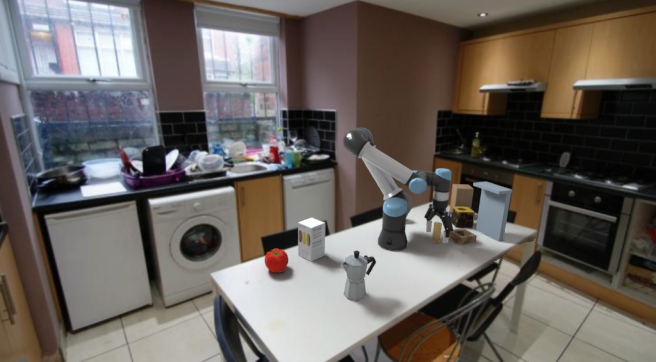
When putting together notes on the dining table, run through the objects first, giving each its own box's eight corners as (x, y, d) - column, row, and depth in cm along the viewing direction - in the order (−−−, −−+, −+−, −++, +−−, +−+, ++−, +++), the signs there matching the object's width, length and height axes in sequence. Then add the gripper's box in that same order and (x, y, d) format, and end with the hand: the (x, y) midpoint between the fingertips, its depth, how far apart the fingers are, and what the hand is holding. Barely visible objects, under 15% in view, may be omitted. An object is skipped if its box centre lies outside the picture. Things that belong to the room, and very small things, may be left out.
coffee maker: (345, 304, 116) (346, 260, 111) (335, 291, 123) (336, 249, 119) (380, 295, 122) (382, 252, 117) (368, 283, 129) (370, 242, 125)
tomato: (270, 279, 131) (269, 260, 129) (261, 267, 140) (260, 249, 138) (293, 272, 137) (293, 253, 135) (283, 261, 146) (282, 243, 144)
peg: (435, 243, 166) (437, 225, 163) (430, 240, 169) (432, 222, 167) (441, 242, 167) (443, 224, 164) (436, 239, 171) (438, 221, 168)
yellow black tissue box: (473, 228, 185) (475, 212, 183) (456, 228, 185) (458, 212, 183) (466, 221, 195) (468, 206, 193) (449, 221, 195) (451, 206, 193)
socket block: (460, 245, 164) (461, 238, 163) (447, 237, 173) (448, 230, 172) (475, 242, 167) (476, 235, 166) (462, 234, 176) (463, 228, 175)
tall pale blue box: (490, 243, 166) (499, 191, 159) (466, 230, 181) (473, 182, 174) (503, 241, 169) (512, 189, 162) (479, 228, 184) (486, 181, 177)
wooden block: (464, 213, 208) (468, 184, 203) (469, 219, 199) (473, 188, 194) (449, 213, 209) (452, 183, 204) (453, 218, 200) (457, 188, 195)
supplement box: (297, 254, 152) (297, 222, 147) (311, 248, 158) (311, 216, 154) (311, 262, 145) (311, 227, 141) (325, 255, 152) (325, 222, 148)
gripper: (464, 205, 152) (459, 246, 157) (431, 191, 175) (427, 227, 180) (451, 207, 149) (446, 248, 155) (419, 192, 172) (416, 228, 178)
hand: (436, 237), depth 168 cm, fingers open, 13 cm apart
